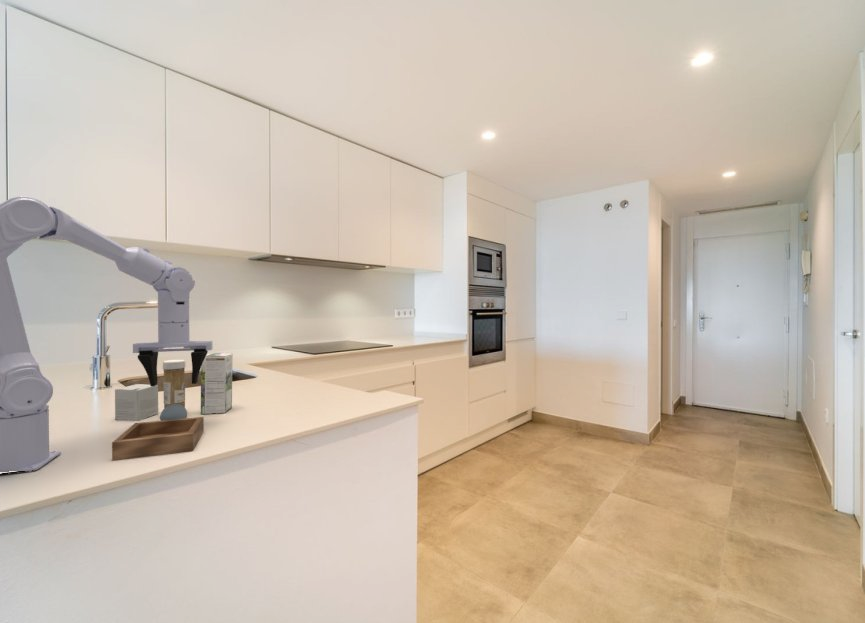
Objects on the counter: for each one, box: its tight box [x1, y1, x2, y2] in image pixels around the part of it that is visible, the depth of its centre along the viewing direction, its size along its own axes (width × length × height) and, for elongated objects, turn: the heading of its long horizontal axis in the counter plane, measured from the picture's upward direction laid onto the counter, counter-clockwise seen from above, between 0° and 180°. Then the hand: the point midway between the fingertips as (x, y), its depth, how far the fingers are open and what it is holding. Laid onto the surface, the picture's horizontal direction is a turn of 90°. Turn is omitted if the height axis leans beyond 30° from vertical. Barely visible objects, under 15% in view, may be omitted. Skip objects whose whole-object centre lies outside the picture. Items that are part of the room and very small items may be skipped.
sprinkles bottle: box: [162, 359, 186, 409], centre depth 94 cm, size 5×5×14 cm
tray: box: [111, 416, 205, 461], centre depth 75 cm, size 12×12×3 cm
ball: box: [159, 404, 188, 421], centre depth 85 cm, size 5×5×5 cm
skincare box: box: [114, 383, 159, 422], centre depth 93 cm, size 6×6×7 cm
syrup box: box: [200, 352, 234, 415], centre depth 98 cm, size 6×6×14 cm
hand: (174, 384), depth 85 cm, fingers open, 7 cm apart
